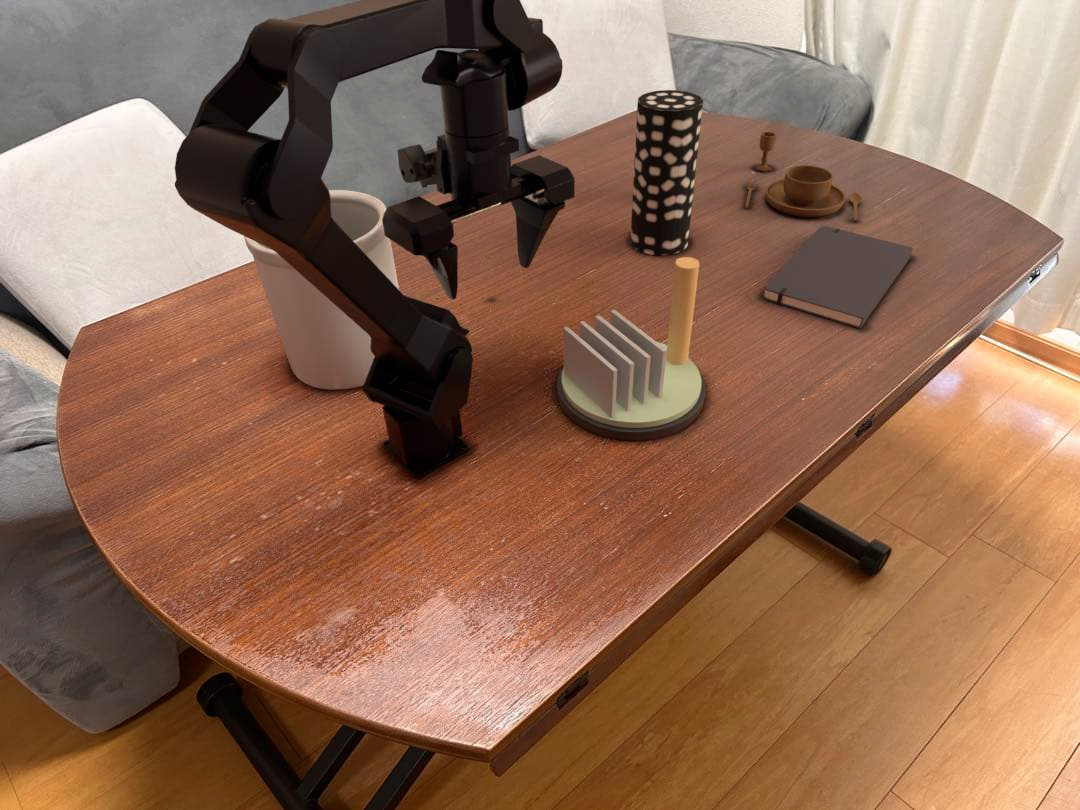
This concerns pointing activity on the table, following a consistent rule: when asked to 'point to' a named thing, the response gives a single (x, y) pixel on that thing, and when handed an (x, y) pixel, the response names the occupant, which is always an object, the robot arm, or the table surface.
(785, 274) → the notebook
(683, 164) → the white-spotted black cylinder
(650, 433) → the turntable base
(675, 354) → the dish rack
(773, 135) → the place setting
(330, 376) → the utensil holder
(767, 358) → the table surface
